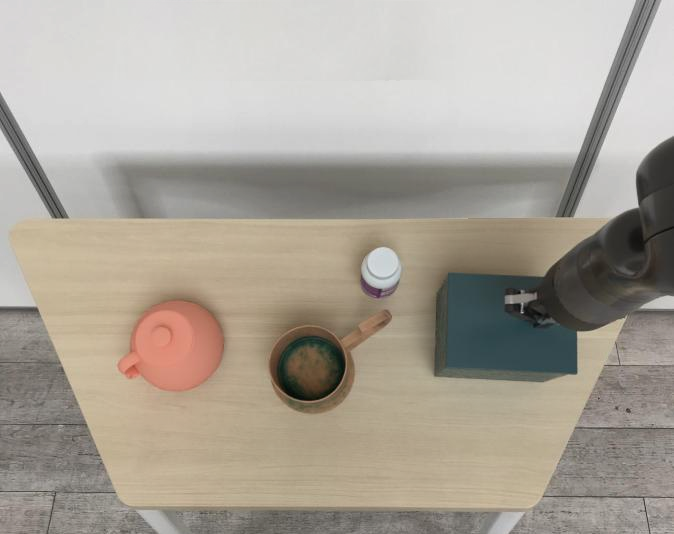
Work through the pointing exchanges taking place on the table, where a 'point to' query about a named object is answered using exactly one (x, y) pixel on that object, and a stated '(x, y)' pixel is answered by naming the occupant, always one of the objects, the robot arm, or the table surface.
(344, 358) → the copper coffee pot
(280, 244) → the table surface
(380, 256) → the pill bottle
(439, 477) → the table surface
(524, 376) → the teal storage bin
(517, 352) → the lid
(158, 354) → the sugar bowl
